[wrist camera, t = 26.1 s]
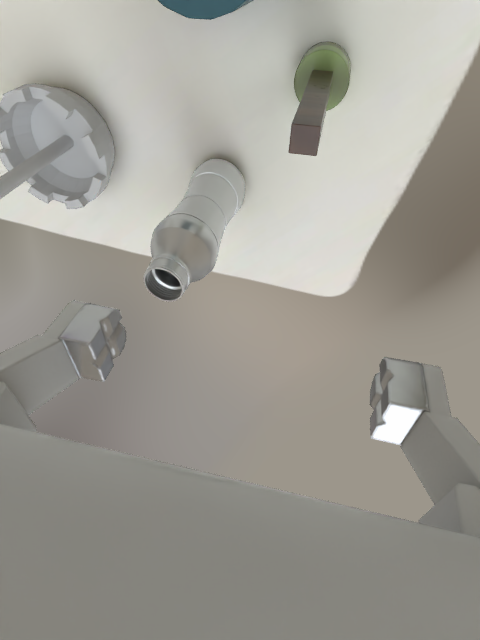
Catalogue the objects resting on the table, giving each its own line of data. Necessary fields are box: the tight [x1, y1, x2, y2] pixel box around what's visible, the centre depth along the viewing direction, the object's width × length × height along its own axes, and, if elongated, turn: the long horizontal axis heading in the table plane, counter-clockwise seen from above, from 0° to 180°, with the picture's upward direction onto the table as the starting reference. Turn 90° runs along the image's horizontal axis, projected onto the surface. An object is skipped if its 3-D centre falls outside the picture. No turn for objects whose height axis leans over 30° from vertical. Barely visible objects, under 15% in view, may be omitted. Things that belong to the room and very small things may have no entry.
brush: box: [289, 42, 350, 156], centre depth 30 cm, size 5×5×18 cm
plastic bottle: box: [143, 159, 245, 302], centre depth 39 cm, size 6×7×20 cm
